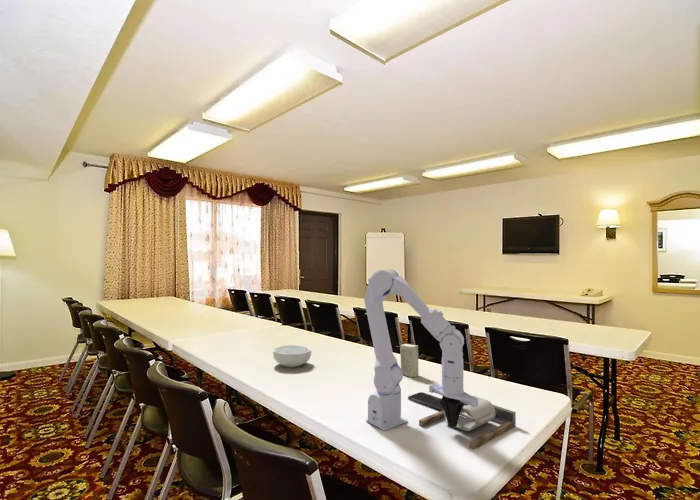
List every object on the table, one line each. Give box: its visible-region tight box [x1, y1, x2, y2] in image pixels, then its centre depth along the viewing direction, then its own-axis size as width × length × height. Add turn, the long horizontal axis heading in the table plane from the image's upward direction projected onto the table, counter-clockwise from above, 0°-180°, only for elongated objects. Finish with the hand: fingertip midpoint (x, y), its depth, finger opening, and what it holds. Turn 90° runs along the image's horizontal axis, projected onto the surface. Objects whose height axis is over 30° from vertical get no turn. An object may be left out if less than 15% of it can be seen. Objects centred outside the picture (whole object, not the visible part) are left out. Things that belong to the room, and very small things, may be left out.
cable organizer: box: [444, 394, 496, 432], centre depth 105 cm, size 7×12×12 cm
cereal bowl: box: [272, 344, 312, 368], centre depth 164 cm, size 17×17×7 cm
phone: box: [407, 391, 444, 412], centre depth 120 cm, size 8×1×15 cm
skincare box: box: [399, 343, 420, 378], centre depth 150 cm, size 6×4×12 cm
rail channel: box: [418, 404, 517, 451], centre depth 103 cm, size 21×17×4 cm
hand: (452, 425), depth 99 cm, fingers closed, pressing on cable organizer
